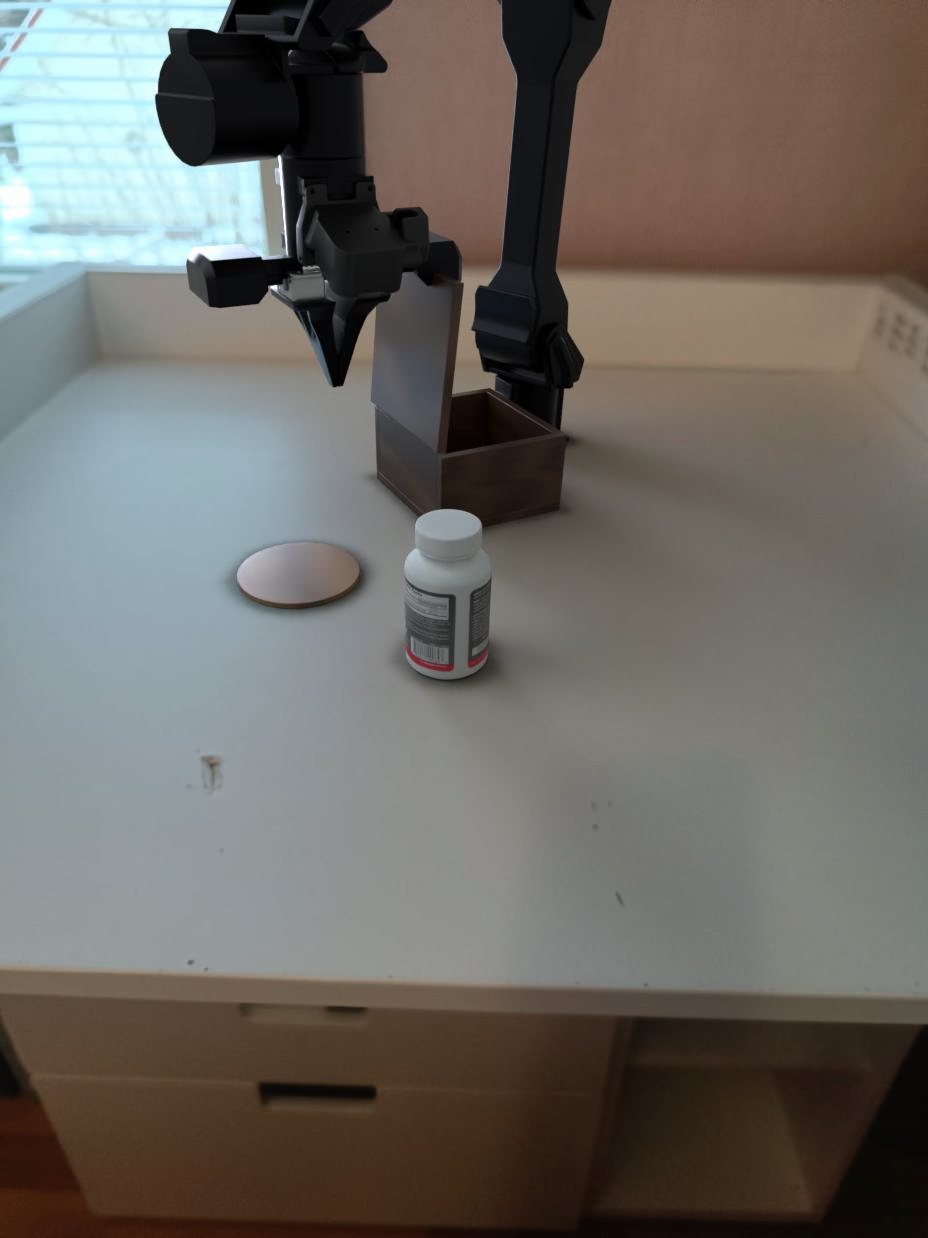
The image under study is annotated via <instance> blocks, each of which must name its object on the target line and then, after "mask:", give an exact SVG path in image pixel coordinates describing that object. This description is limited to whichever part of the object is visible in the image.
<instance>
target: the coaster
mask: <svg viewBox="0 0 928 1238" xmlns="http://www.w3.org/2000/svg"><path fill="white" fill-rule="evenodd" d="M360 578H361V568H360V564H359V561H358V560H357V559H356V558H355V556H354V555H353V554H351V553H349V552H348V551H347V550H345V549H343V548H340V547H338V546H336V545H332V544H328V543H322V542H313V541H297V542H289V543H288V542H287V543H282V544H277V545H273V546H269V547H266V548H263V549H261V550H259V551H257V552H255V553H253V554H251V555H250V556H248V557H247V558H246V559H245V560H244V561H243V562H242V563H241V564H240V566H239V568H238V570H237V572H236V582H237V586H238V588H239V590H240V592H241V593H242V594H243V595H244V596H246V597H247V598H248V599H250V600H252V601H254V602H256V603H259V604H261V605H264V606H269V607H272V608H273V607H274V608H279V609H303V608H305V609H306V608H312V607H313V608H314V607H317V606H322V605H324V604H325V605H326V604H329V603H332V602H334V601H336V600H338V599H340V598H342V597H344V596H346V595H347V594H349V593H350V592H352V590H353V589H354V588H355V587H356V586H357V584H358V582H359V580H360Z"/></svg>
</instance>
